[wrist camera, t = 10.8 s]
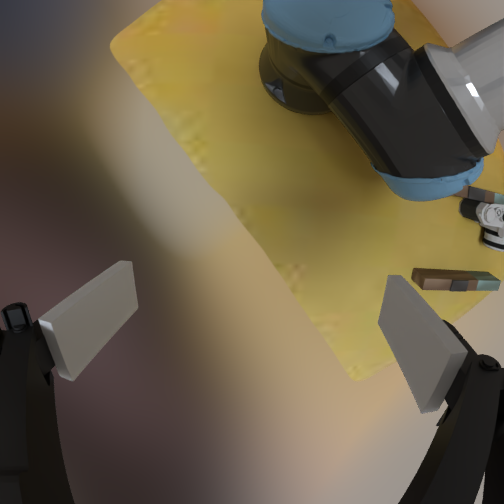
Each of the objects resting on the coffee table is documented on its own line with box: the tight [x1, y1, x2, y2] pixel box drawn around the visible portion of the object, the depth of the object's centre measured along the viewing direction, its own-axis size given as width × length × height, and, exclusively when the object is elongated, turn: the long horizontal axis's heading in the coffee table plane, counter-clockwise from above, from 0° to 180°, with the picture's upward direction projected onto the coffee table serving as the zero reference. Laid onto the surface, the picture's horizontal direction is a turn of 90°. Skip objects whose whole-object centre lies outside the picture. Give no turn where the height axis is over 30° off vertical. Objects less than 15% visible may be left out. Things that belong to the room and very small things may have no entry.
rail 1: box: [453, 185, 504, 204], centre depth 36 cm, size 2×20×5 cm, turn 88°
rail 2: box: [411, 268, 501, 291], centre depth 41 cm, size 2×20×5 cm, turn 88°
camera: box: [459, 198, 504, 252], centre depth 35 cm, size 16×9×10 cm, turn 88°
